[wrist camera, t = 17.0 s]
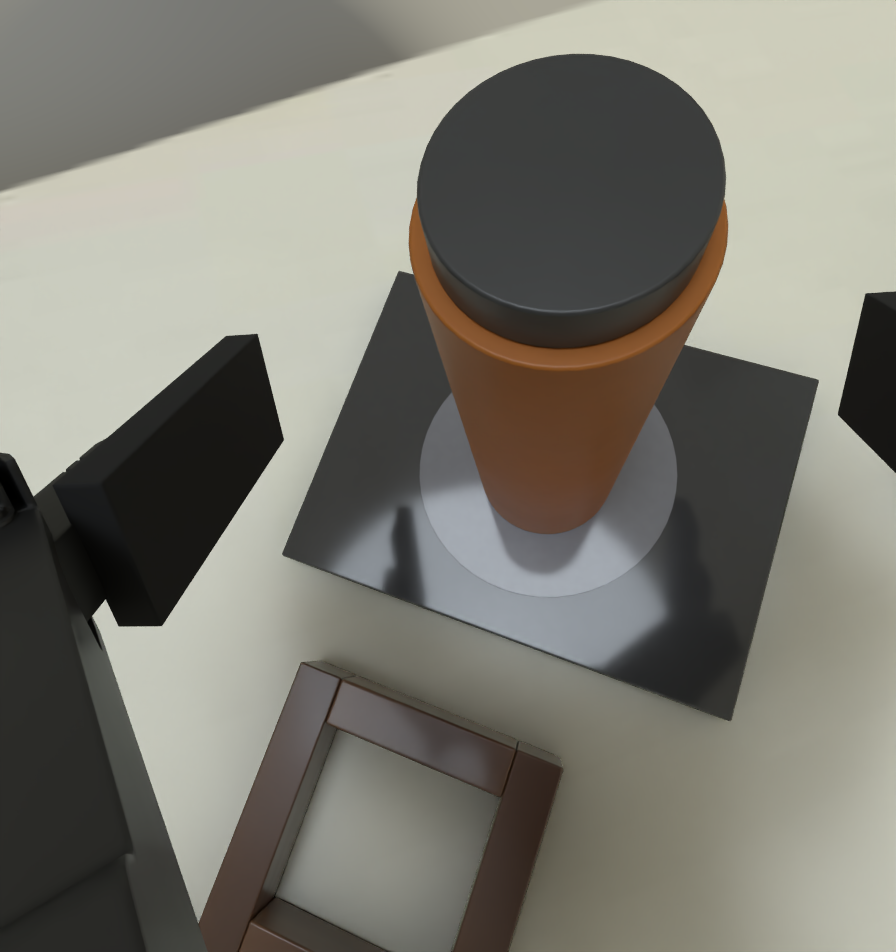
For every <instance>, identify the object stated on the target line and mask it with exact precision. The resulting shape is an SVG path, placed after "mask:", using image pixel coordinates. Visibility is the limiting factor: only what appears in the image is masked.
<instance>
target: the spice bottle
mask: <svg viewBox="0 0 896 952" xmlns="http://www.w3.org/2000/svg"><path fill="white" fill-rule="evenodd" d="M725 185H726V172H725V162H724V156H723V153H722V149H721V145H720V141H719V139H718V136H717V134H716V132H715V130H714V127H713V125H712V123H711V122H710V120H709V119H708V117H707V116H706V114H705V112H704V111H703V110H702V108H701V107H700V106H699V105H698V104H697V103H696V101H695V100H694V99H693V98H692V97H691V96H690V95H689V94H688V93H687V92H685V91H684V90H683V89H682V88H681V87H680V86H679V85H677V84H676V83H674V82H673V81H671V80H670V79H668V78H667V77H665V76H664V75H662V74H660V73H658V72H656V71H654V70H652V69H650V68H648V67H645V66H643V65H640V64H637V63H634V62H631V61H628V60H624V59H620V58H615V57H611V56H603V55H595V54H567V55H556V56H550V57H545V58H540V59H535V60H532V61H528V62H525V63H522V64H519V65H516V66H514V67H511V68H509V69H507V70H504V71H502V72H500V73H498V74H496V75H494V76H493V77H491V78H489V79H487V80H485V81H484V82H482V83H481V84H479V85H478V86H477V87H475V88H474V89H472V90H471V91H470V92H468V93H467V94H466V95H465V96H464V97H463V98H462V99H461V100H460V101H458V102H457V103H456V104H455V105H454V106H453V108H452V109H451V110H450V111H449V112H448V113H447V114H446V116H445V117H444V118H443V120H442V121H441V122H440V124H439V125H438V127H437V128H436V130H435V131H434V133H433V135H432V137H431V139H430V141H429V143H428V145H427V147H426V150H425V153H424V156H423V159H422V162H421V165H420V170H419V176H418V181H417V198H416V201H415V204H414V207H413V210H412V216H411V221H410V226H409V252H410V261H411V265H412V269H413V273H414V277H415V280H416V283H417V286H418V289H419V292H420V295H421V299H422V302H423V305H424V308H425V311H426V314H427V317H428V320H429V323H430V326H431V329H432V332H433V335H434V338H435V341H436V344H437V347H438V350H439V353H440V356H441V360H442V363H443V366H444V369H445V372H446V375H447V378H448V381H449V384H450V387H451V390H452V393H453V396H454V399H455V402H456V405H457V408H458V411H459V414H460V417H461V421H462V424H463V427H464V430H465V433H466V436H467V439H468V442H469V445H470V448H471V451H472V454H473V457H474V460H475V463H476V466H477V469H478V472H479V475H480V479H481V482H482V485H483V488H484V491H485V493H486V495H487V498H488V500H489V501H490V503H491V505H492V506H493V507H494V509H495V510H496V511H497V512H498V513H499V514H500V515H501V516H502V517H503V518H504V519H505V520H507V521H508V522H509V523H511V524H513V525H514V526H516V527H518V528H521V529H523V530H526V531H529V532H533V533H540V534H555V533H562V532H566V531H569V530H572V529H574V528H577V527H579V526H580V525H582V524H584V523H585V522H587V521H588V520H589V519H591V518H592V517H593V516H594V515H595V514H596V513H597V512H598V511H599V510H600V508H601V507H602V506H603V504H604V502H605V501H606V499H607V497H608V495H609V493H610V491H611V489H612V487H613V485H614V483H615V481H616V479H617V477H618V475H619V473H620V471H621V469H622V467H623V465H624V463H625V461H626V459H627V457H628V455H629V453H630V451H631V449H632V447H633V445H634V443H635V441H636V439H637V437H638V435H639V433H640V431H641V429H642V427H643V425H644V423H645V421H646V419H647V417H648V415H649V413H650V411H651V410H652V408H653V406H654V404H655V402H656V400H657V398H658V396H659V394H660V392H661V390H662V388H663V386H664V384H665V382H666V380H667V378H668V376H669V374H670V372H671V370H672V368H673V366H674V364H675V362H676V360H677V358H678V356H679V354H680V352H681V350H682V348H683V346H684V344H685V342H686V340H687V338H688V336H689V334H690V332H691V330H692V328H693V326H694V324H695V322H696V320H697V318H698V316H699V314H700V312H701V310H702V308H703V306H704V304H705V302H706V300H707V298H708V296H709V294H710V292H711V290H712V288H713V286H714V284H715V282H716V280H717V277H718V275H719V272H720V270H721V267H722V264H723V261H724V256H725V251H726V247H727V237H728V219H727V209H726V204H725V200H724V197H725Z"/></svg>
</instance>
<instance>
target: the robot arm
mask: <svg viewBox="0 0 896 952" xmlns="http://www.w3.org/2000/svg"><path fill="white" fill-rule="evenodd" d="M838 415H839V416H840V417H841V418H842V419H843V420H844V421H845V422H846V423H847V425H848V426H849V427H850V428H851V429H852V430H853V431H854V432H855V433H856V434H857V435H858V436H859V437H860V438H861V439H862V440H863V441H864V442H865V443H866V444H867V445H868V446H869V447H870V448H871V449H872V450H873V451H874V452H875V453H876V454H877V455H878V456H879V457H880V458H881V459H882V460H883V461H884V462H885V463H886V464H887V465H888V466H889V467H890V468H891V469H892V470H893V471H894V472H895V473H896V292H882V293H867V294H865V298H864V303H863V307H862V311H861V316H860V320H859V325H858V329H857V333H856V338H855V342H854V346H853V351H852V355H851V359H850V364H849V368H848V372H847V377H846V381H845V385H844V390H843V394H842V398H841V403H840V407H839V411H838ZM283 441H284V438H283V434H282V430H281V426H280V422H279V418H278V414H277V410H276V406H275V402H274V398H273V394H272V390H271V386H270V382H269V378H268V374H267V370H266V366H265V362H264V358H263V354H262V350H261V346H260V342H259V338H258V334H250V335H235V336H226V337H224V338H223V339H222V340H221V341H220V342H219V343H217V344H216V345H215V346H214V347H213V348H212V349H210V350H209V351H208V352H207V353H206V354H205V355H203V356H202V357H201V358H200V359H199V360H198V361H196V362H195V363H194V364H193V365H192V366H191V367H189V368H188V369H187V370H186V371H185V372H184V373H182V374H181V375H180V376H179V377H178V378H177V379H175V380H174V381H173V382H172V383H171V384H170V385H168V386H167V387H166V388H165V389H164V390H163V391H161V392H160V393H159V394H158V395H157V396H156V397H154V398H153V399H152V400H151V401H150V402H149V403H147V404H146V405H145V406H144V407H143V408H142V409H141V410H139V411H138V412H137V413H136V414H135V415H134V416H132V417H131V418H130V419H129V420H128V421H127V422H125V423H124V424H123V425H122V426H121V427H120V428H118V429H117V430H116V431H115V432H114V433H113V434H111V435H110V436H109V437H108V438H106V439H104V440H103V441H101V442H99V443H97V444H95V445H94V446H93V447H92V448H91V449H89V450H88V451H87V452H86V453H85V454H84V455H82V456H81V457H80V461H75V462H74V463H73V464H72V465H71V466H69V467H68V468H67V469H66V472H62V473H61V474H60V475H59V476H58V477H56V478H55V479H54V480H53V481H52V482H51V483H49V484H48V485H47V486H46V487H45V488H44V489H42V490H41V491H40V492H39V493H38V494H36V495H35V496H34V497H33V495H32V493H31V491H30V489H29V487H28V485H27V483H26V481H25V479H24V477H23V475H22V473H21V471H20V469H19V467H18V465H17V463H16V461H15V459H14V458H13V457H12V456H11V455H10V454H5V453H0V952H208V951H207V948H206V945H205V942H204V939H203V936H202V933H201V930H200V927H199V925H198V922H197V919H196V916H195V913H194V910H193V907H192V904H191V901H190V898H189V895H188V892H187V889H186V886H185V883H184V880H183V877H182V874H181V871H180V868H179V865H178V862H177V859H176V856H175V853H174V850H173V847H172V844H171V841H170V838H169V835H168V832H167V829H166V826H165V823H164V820H163V818H162V815H161V812H160V809H159V806H158V803H157V800H156V797H155V794H154V791H153V788H152V785H151V782H150V779H149V776H148V773H147V770H146V767H145V764H144V761H143V758H142V755H141V752H140V749H139V746H138V743H137V740H136V737H135V734H134V731H133V728H132V725H131V722H130V719H129V716H128V714H127V711H126V708H125V705H124V702H123V699H122V696H121V693H120V690H119V687H118V684H117V681H116V678H115V675H114V672H113V669H112V666H111V663H110V660H109V657H108V654H107V651H106V648H105V645H104V642H103V639H102V636H101V633H100V631H99V629H98V627H97V625H96V623H95V621H94V619H93V617H92V615H93V614H94V613H95V612H96V610H97V609H98V608H99V607H100V605H101V604H102V603H103V602H104V600H105V599H106V600H107V603H108V605H109V607H110V609H111V611H112V613H113V615H114V617H115V620H116V622H117V624H118V626H162V625H163V624H164V622H165V621H166V619H167V618H168V616H169V615H170V613H171V611H172V610H173V608H174V607H175V605H176V604H177V602H178V601H179V599H180V598H181V596H182V595H183V593H184V592H185V590H186V589H187V587H188V586H189V584H190V582H191V581H192V579H193V578H194V576H195V575H196V573H197V572H198V570H199V569H200V567H201V566H202V564H203V563H204V561H205V560H206V558H207V557H208V555H209V553H210V552H211V550H212V549H213V547H214V546H215V544H216V543H217V541H218V540H219V538H220V537H221V535H222V534H223V532H224V531H225V529H226V528H227V526H228V524H229V523H230V521H231V520H232V518H233V517H234V515H235V514H236V512H237V511H238V509H239V508H240V506H241V505H242V503H243V502H244V500H245V499H246V497H247V495H248V494H249V492H250V491H251V489H252V488H253V486H254V485H255V483H256V482H257V480H258V479H259V477H260V476H261V474H262V473H263V471H264V470H265V468H266V466H267V465H268V463H269V462H270V460H271V459H272V457H273V456H274V454H275V453H276V451H277V450H278V448H279V447H280V445H281V444H282V442H283Z"/></svg>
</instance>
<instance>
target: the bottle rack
mask: <svg viewBox="0 0 896 952" xmlns="http://www.w3.org/2000/svg"><path fill="white" fill-rule="evenodd" d="M337 729H339V730H342V731H344V732H347V733H349V734H351V735H354V736H356V737H358V738H361V739H363V740H365V741H368V742H370V743H373V744H375V745H377V746H380V747H382V748H384V749H387V750H389V751H391V752H394V753H396V754H398V755H401V756H403V757H406V758H408V759H410V760H413V761H415V762H417V763H420V764H422V765H424V766H427V767H429V768H431V769H434V770H436V771H439V772H441V773H443V774H446V775H448V776H450V777H453V778H455V779H457V780H460V781H462V782H464V783H467V784H469V785H472V786H474V787H476V788H479V789H481V790H483V791H486V792H488V793H490V794H493V795H495V796H498V797H500V800H499V803H498V806H497V809H496V812H495V815H494V818H493V821H492V825H491V828H490V831H489V834H488V837H487V840H486V843H485V847H484V850H483V853H482V856H481V859H480V862H479V865H478V868H477V872H476V875H475V878H474V881H473V884H472V887H471V890H470V893H469V897H468V900H467V903H466V906H465V909H464V912H463V915H462V919H461V922H460V925H459V928H458V931H457V934H456V937H455V940H454V944H453V947H452V950H451V952H508V951H509V948H510V945H511V941H512V938H513V935H514V932H515V928H516V925H517V922H518V918H519V915H520V912H521V908H522V905H523V902H524V899H525V895H526V892H527V889H528V885H529V882H530V879H531V876H532V872H533V869H534V866H535V862H536V859H537V856H538V852H539V849H540V846H541V843H542V839H543V836H544V833H545V829H546V826H547V823H548V819H549V816H550V813H551V810H552V806H553V803H554V800H555V796H556V793H557V790H558V787H559V783H560V780H561V777H562V773H563V766H562V761H561V758H560V757H559V756H556V755H554V754H551V753H549V752H547V751H544V750H542V749H539V748H537V747H534V746H532V745H529V744H527V743H524V742H522V741H519V742H518V743H517V740H516V739H514V738H512V737H509V736H507V735H504V734H502V733H499V732H497V731H494V730H492V729H489V728H487V727H484V726H482V725H479V724H477V723H474V722H472V721H469V720H467V719H464V718H462V717H459V716H457V715H454V714H452V713H450V712H447V711H445V710H442V709H440V708H437V707H435V706H432V705H430V704H427V703H425V702H422V701H420V700H417V699H415V698H412V697H410V696H407V695H405V694H402V693H400V692H397V691H395V690H392V689H390V688H387V687H385V686H382V685H380V684H378V683H375V682H373V681H370V680H368V679H365V678H363V677H360V676H356V675H355V674H353V673H350V672H348V671H346V670H343V669H341V668H338V667H336V666H333V665H331V664H328V663H326V662H323V661H310V662H301V664H300V666H299V669H298V671H297V674H296V676H295V679H294V681H293V684H292V687H291V689H290V692H289V694H288V697H287V699H286V702H285V704H284V707H283V710H282V712H281V715H280V717H279V720H278V722H277V725H276V727H275V730H274V732H273V735H272V738H271V740H270V743H269V745H268V748H267V750H266V753H265V755H264V758H263V760H262V763H261V766H260V768H259V771H258V773H257V776H256V778H255V781H254V783H253V786H252V788H251V791H250V794H249V796H248V799H247V801H246V804H245V806H244V809H243V811H242V814H241V816H240V819H239V822H238V824H237V827H236V829H235V832H234V834H233V837H232V839H231V842H230V844H229V847H228V850H227V852H226V855H225V857H224V860H223V862H222V865H221V867H220V870H219V872H218V875H217V878H216V880H215V883H214V885H213V888H212V890H211V893H210V895H209V898H208V901H207V903H206V906H205V908H204V911H203V913H202V916H201V918H200V921H199V923H198V925H199V927H200V930H201V933H202V936H203V939H204V942H205V945H206V948H207V951H208V952H386V951H384V950H382V949H380V948H378V947H376V946H374V945H372V944H370V943H368V942H366V941H364V940H362V939H360V938H358V937H356V936H354V935H352V934H350V933H347V932H345V931H343V930H341V929H339V928H337V927H335V926H333V925H331V924H329V923H327V922H325V921H323V920H321V919H319V918H317V917H315V916H313V915H311V914H309V913H307V912H305V911H303V910H301V909H299V908H297V907H295V906H293V905H291V904H289V903H287V902H285V901H283V900H281V899H279V898H276V897H275V898H274V896H275V893H276V890H277V888H278V885H279V882H280V880H281V877H282V874H283V872H284V869H285V866H286V864H287V861H288V858H289V856H290V853H291V850H292V848H293V845H294V842H295V840H296V837H297V834H298V831H299V829H300V826H301V823H302V821H303V818H304V815H305V813H306V810H307V807H308V805H309V802H310V799H311V797H312V794H313V791H314V789H315V786H316V783H317V781H318V778H319V775H320V773H321V770H322V767H323V765H324V762H325V759H326V757H327V754H328V751H329V749H330V746H331V743H332V741H333V738H334V735H335V733H336V730H337Z"/></svg>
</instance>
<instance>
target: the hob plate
mask: <svg viewBox="0 0 896 952" xmlns="http://www.w3.org/2000/svg"><path fill="white" fill-rule="evenodd" d="M818 383H819V380H817V379H813V378H810V377H806V376H802V375H798V374H794V373H790V372H787V371H783V370H779V369H775V368H771V367H767V366H763V365H760V364H756V363H752V362H748V361H744V360H740V359H736V358H733V357H729V356H725V355H721V354H717V353H713V352H710V351H706V350H702V349H698V348H694V347H690V346H686V345H684V346H683V348H682V350H681V352H680V354H679V356H678V358H677V360H676V362H675V364H674V366H673V368H672V370H671V372H670V374H669V376H668V378H667V380H666V382H665V384H664V386H663V388H662V390H661V392H660V394H659V396H658V398H657V400H656V402H655V404H654V406H653V408H652V410H651V411H650V413H649V415H648V417H647V419H646V421H645V423H644V425H643V427H642V429H641V431H640V433H639V435H638V437H637V439H636V441H635V443H634V445H633V447H632V449H631V451H630V453H629V455H628V457H627V459H626V461H625V463H624V465H623V467H622V469H621V471H620V473H619V475H618V477H617V479H616V481H615V483H614V485H613V487H612V489H611V491H610V493H609V495H608V497H607V499H606V501H605V502H604V504H603V506H602V507H601V508H600V510H599V511H598V512H597V513H596V514H595V515H594V516H593V517H592V518H591V519H589V520H588V521H587V522H585V523H584V524H582V525H580V526H579V527H577V528H574V529H572V530H569V531H566V532H562V533H555V534H540V533H533V532H529V531H526V530H523V529H521V528H518V527H516V526H514V525H513V524H511V523H509V522H508V521H507V520H505V519H504V518H503V517H502V516H501V515H500V514H499V513H498V512H497V511H496V510H495V509H494V507H493V506H492V505H491V503H490V501H489V500H488V498H487V495H486V493H485V491H484V488H483V485H482V482H481V479H480V475H479V472H478V469H477V466H476V463H475V460H474V457H473V454H472V451H471V448H470V445H469V442H468V439H467V436H466V433H465V430H464V427H463V424H462V421H461V417H460V414H459V411H458V408H457V405H456V402H455V399H454V396H453V393H452V390H451V387H450V384H449V381H448V378H447V375H446V372H445V369H444V366H443V363H442V360H441V356H440V353H439V350H438V347H437V344H436V341H435V338H434V335H433V332H432V329H431V326H430V323H429V320H428V317H427V314H426V311H425V308H424V305H423V302H422V299H421V295H420V292H419V289H418V286H417V283H416V280H415V277H414V275H413V274H409V273H405V272H401V271H399V272H398V274H397V276H396V279H395V281H394V284H393V286H392V288H391V291H390V293H389V296H388V298H387V301H386V303H385V305H384V308H383V310H382V313H381V315H380V318H379V320H378V322H377V325H376V327H375V330H374V332H373V334H372V337H371V339H370V342H369V344H368V347H367V349H366V351H365V354H364V356H363V359H362V361H361V364H360V366H359V368H358V371H357V373H356V376H355V378H354V381H353V383H352V385H351V388H350V390H349V393H348V395H347V398H346V400H345V402H344V405H343V407H342V410H341V412H340V415H339V417H338V419H337V422H336V424H335V427H334V429H333V432H332V434H331V436H330V439H329V441H328V444H327V446H326V449H325V451H324V453H323V456H322V458H321V461H320V463H319V466H318V468H317V470H316V473H315V475H314V478H313V480H312V483H311V485H310V487H309V490H308V492H307V495H306V497H305V500H304V502H303V504H302V507H301V509H300V512H299V514H298V517H297V519H296V521H295V524H294V526H293V529H292V531H291V534H290V536H289V538H288V541H287V543H286V546H285V548H284V551H283V553H282V555H283V556H285V557H288V558H290V559H293V560H296V561H298V562H301V563H304V564H307V565H309V566H312V567H315V568H317V569H320V570H323V571H325V572H328V573H331V574H334V575H336V576H339V577H342V578H344V579H347V580H350V581H352V582H355V583H358V584H360V585H363V586H366V587H369V588H371V589H374V590H377V591H379V592H382V593H385V594H387V595H390V596H393V597H395V598H398V599H401V600H404V601H406V602H409V603H412V604H414V605H417V606H420V607H422V608H425V609H428V610H431V611H433V612H436V613H439V614H441V615H444V616H447V617H449V618H452V619H455V620H457V621H460V622H463V623H466V624H468V625H471V626H474V627H476V628H479V629H482V630H484V631H487V632H490V633H493V634H495V635H498V636H501V637H503V638H506V639H509V640H511V641H514V642H517V643H519V644H522V645H525V646H528V647H530V648H533V649H536V650H538V651H541V652H544V653H546V654H549V655H552V656H554V657H557V658H560V659H563V660H565V661H568V662H571V663H573V664H576V665H579V666H581V667H584V668H587V669H590V670H592V671H595V672H598V673H600V674H603V675H606V676H608V677H611V678H614V679H616V680H619V681H622V682H625V683H627V684H630V685H633V686H635V687H638V688H641V689H643V690H646V691H649V692H652V693H654V694H657V695H660V696H662V697H665V698H668V699H670V700H673V701H676V702H678V703H681V704H684V705H687V706H689V707H692V708H695V709H697V710H700V711H703V712H705V713H708V714H711V715H713V716H716V717H719V718H722V719H724V720H727V721H731V720H732V716H733V712H734V708H735V705H736V701H737V697H738V693H739V689H740V685H741V681H742V677H743V674H744V670H745V666H746V662H747V658H748V654H749V650H750V646H751V643H752V639H753V635H754V631H755V627H756V623H757V619H758V615H759V612H760V608H761V604H762V600H763V596H764V592H765V588H766V584H767V581H768V577H769V573H770V569H771V565H772V561H773V557H774V553H775V549H776V546H777V542H778V538H779V534H780V530H781V526H782V522H783V518H784V515H785V511H786V507H787V503H788V499H789V495H790V491H791V487H792V484H793V480H794V476H795V472H796V468H797V464H798V460H799V456H800V453H801V449H802V445H803V441H804V437H805V433H806V429H807V425H808V421H809V418H810V414H811V410H812V406H813V402H814V398H815V394H816V390H817V387H818Z"/></svg>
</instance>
